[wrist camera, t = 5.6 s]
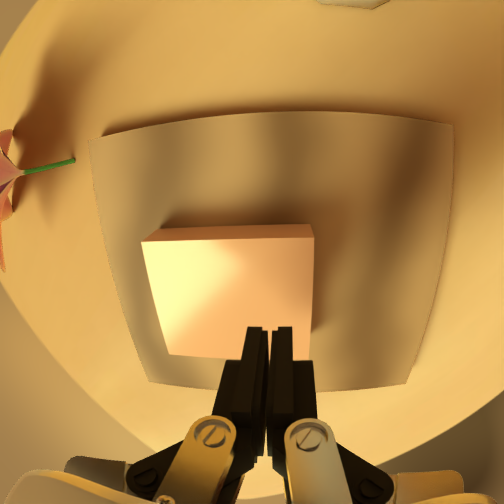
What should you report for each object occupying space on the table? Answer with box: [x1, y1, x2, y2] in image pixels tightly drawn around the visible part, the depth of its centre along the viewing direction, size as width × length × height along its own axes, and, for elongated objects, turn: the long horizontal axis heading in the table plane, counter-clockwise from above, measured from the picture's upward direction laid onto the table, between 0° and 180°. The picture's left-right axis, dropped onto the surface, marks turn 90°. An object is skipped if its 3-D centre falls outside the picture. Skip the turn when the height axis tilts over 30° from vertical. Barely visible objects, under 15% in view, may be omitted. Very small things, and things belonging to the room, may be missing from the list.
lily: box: [0, 129, 75, 272], centre depth 12 cm, size 12×12×10 cm
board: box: [88, 111, 454, 392], centre depth 16 cm, size 20×18×1 cm
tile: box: [141, 224, 314, 360], centre depth 15 cm, size 2×7×8 cm
